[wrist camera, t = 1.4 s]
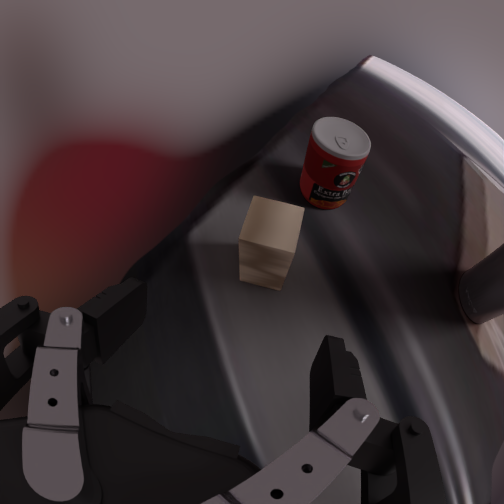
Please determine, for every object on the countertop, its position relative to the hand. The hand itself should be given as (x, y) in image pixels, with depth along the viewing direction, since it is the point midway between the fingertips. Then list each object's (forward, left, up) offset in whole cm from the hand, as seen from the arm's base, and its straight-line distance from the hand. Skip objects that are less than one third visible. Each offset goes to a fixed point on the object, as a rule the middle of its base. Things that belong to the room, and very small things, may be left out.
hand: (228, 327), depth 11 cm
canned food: (-18, -20, -19) cm, 33 cm away
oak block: (-6, -10, -19) cm, 22 cm away
